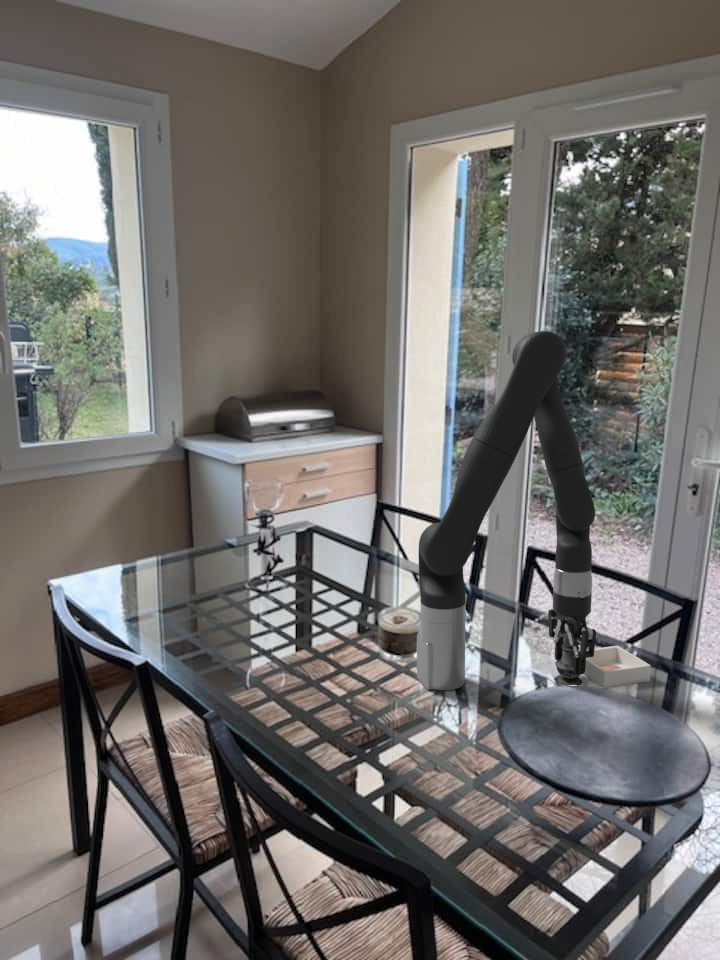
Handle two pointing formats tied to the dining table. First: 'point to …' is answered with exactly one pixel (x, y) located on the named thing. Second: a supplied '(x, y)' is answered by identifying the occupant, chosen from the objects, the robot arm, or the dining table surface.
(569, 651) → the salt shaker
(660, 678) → the dining table surface
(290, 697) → the dining table surface
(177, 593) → the dining table surface
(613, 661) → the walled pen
